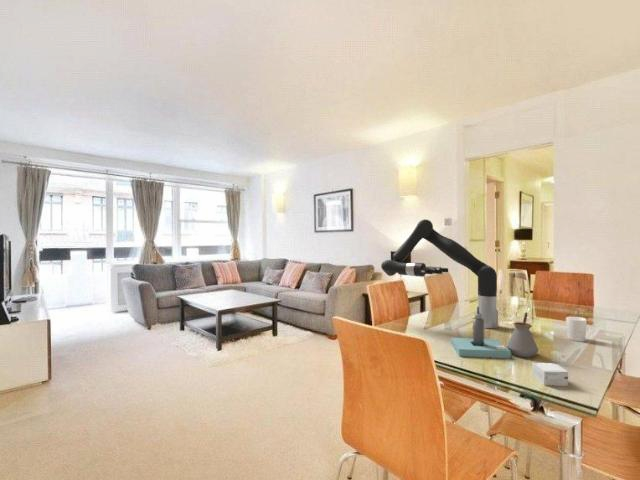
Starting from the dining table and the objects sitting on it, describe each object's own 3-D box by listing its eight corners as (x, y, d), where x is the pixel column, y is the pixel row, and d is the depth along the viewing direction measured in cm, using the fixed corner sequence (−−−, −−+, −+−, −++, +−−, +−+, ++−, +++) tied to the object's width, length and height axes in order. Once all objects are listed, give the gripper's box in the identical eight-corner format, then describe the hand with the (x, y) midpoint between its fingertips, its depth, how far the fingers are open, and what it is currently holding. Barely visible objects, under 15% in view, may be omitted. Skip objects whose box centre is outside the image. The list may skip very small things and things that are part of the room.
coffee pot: (537, 361, 134) (536, 324, 134) (504, 355, 141) (504, 320, 141) (541, 346, 151) (541, 313, 151) (512, 342, 158) (512, 310, 158)
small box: (544, 386, 113) (544, 371, 113) (531, 376, 121) (531, 362, 121) (568, 386, 112) (568, 371, 112) (554, 376, 120) (554, 362, 120)
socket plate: (496, 345, 153) (496, 336, 153) (510, 358, 138) (510, 348, 138) (450, 343, 157) (450, 335, 157) (459, 356, 141) (459, 346, 141)
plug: (482, 349, 149) (481, 305, 149) (485, 352, 145) (484, 307, 144) (471, 348, 150) (471, 305, 149) (474, 352, 145) (474, 307, 145)
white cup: (582, 337, 163) (582, 317, 163) (589, 342, 155) (589, 321, 155) (563, 336, 165) (563, 316, 165) (569, 341, 158) (569, 320, 158)
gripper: (410, 263, 181) (440, 265, 170) (421, 261, 192) (449, 262, 181) (410, 277, 181) (440, 279, 170) (421, 274, 192) (450, 276, 181)
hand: (445, 271), depth 176 cm, fingers open, 8 cm apart
